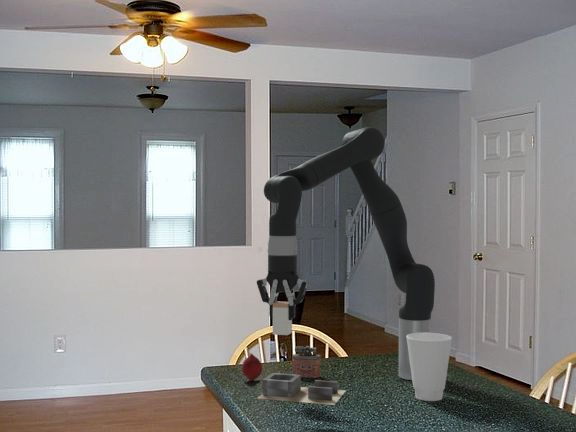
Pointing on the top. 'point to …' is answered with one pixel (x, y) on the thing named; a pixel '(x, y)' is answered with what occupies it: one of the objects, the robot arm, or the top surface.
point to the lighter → (306, 362)
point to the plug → (281, 318)
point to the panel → (299, 390)
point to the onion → (252, 367)
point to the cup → (429, 363)
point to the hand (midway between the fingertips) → (282, 319)
